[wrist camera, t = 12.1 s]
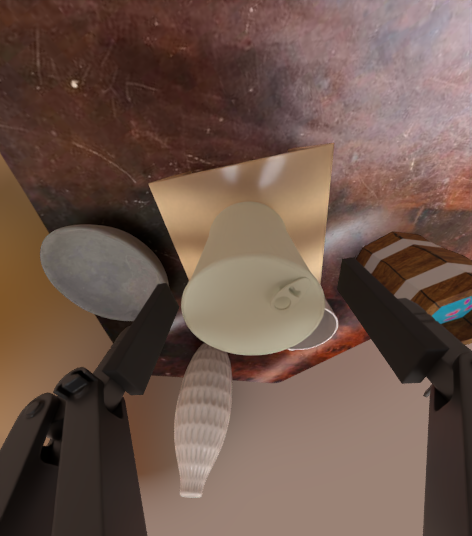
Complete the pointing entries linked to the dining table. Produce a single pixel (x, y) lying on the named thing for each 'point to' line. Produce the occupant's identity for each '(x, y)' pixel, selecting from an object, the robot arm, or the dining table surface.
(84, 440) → the robot arm
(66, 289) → the bowl
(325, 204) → the shelf
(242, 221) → the can
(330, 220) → the dining table surface
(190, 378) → the vase
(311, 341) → the planter
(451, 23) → the dining table surface
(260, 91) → the dining table surface
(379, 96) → the dining table surface
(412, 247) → the mug
